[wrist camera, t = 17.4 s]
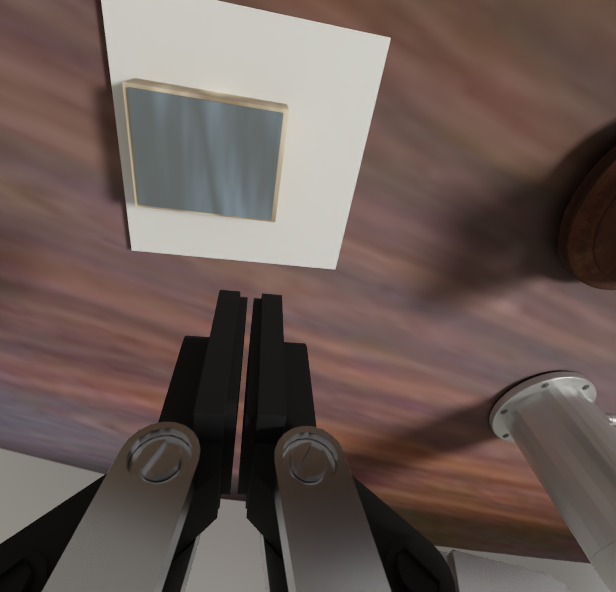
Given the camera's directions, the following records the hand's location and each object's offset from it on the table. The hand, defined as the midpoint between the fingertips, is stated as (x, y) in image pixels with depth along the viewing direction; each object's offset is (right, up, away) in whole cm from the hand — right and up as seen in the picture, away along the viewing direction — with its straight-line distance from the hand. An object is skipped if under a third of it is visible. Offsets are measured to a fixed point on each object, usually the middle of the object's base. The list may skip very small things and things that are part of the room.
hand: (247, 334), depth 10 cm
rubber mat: (-3, +11, +15) cm, 18 cm away
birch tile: (0, +10, +14) cm, 17 cm away
